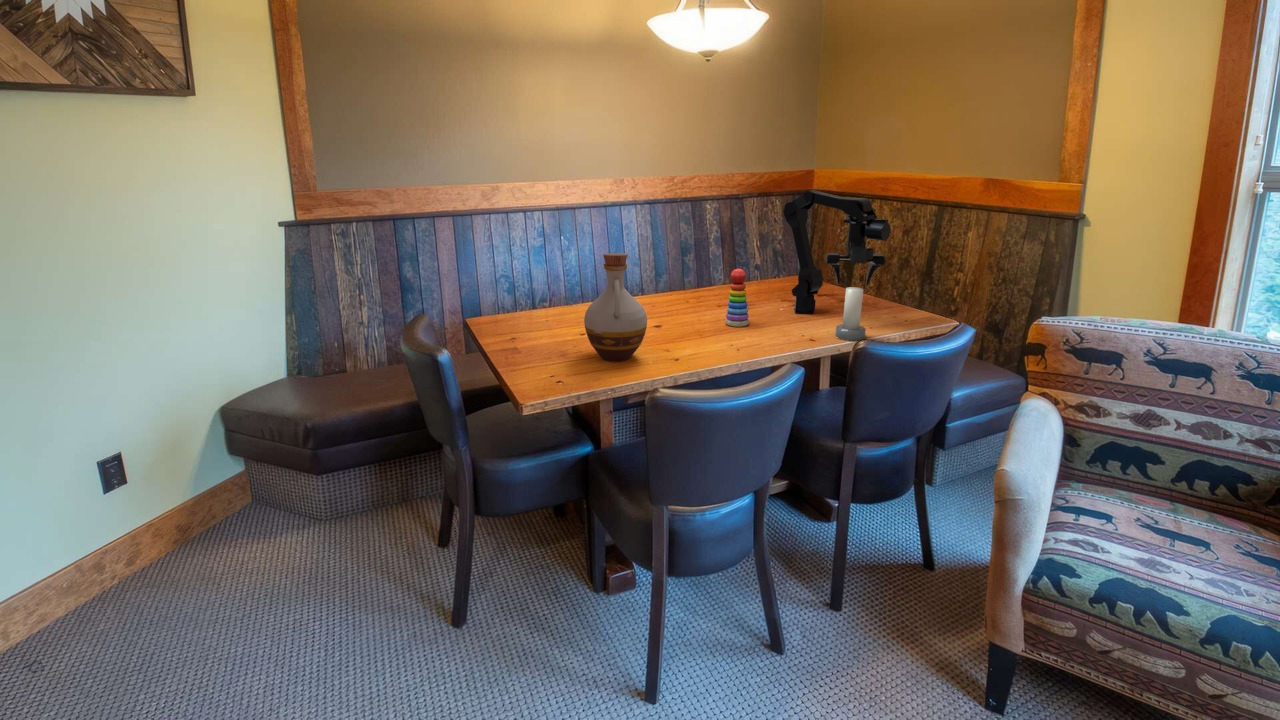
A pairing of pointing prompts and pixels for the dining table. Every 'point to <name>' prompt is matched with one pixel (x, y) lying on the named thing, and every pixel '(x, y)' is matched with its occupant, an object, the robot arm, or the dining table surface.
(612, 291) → the jug
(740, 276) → the stacking toy
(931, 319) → the dining table surface
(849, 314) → the tapered white cylinder
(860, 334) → the plinth
